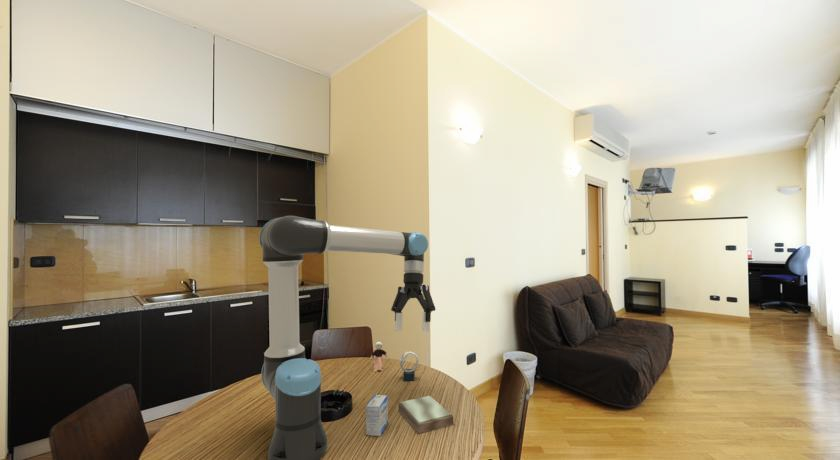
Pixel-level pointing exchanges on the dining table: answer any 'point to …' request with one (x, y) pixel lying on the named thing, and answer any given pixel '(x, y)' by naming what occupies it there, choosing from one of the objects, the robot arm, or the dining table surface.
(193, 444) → the dining table surface
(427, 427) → the platform
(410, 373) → the watch
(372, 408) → the medicine box
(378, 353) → the grandmother figurine
